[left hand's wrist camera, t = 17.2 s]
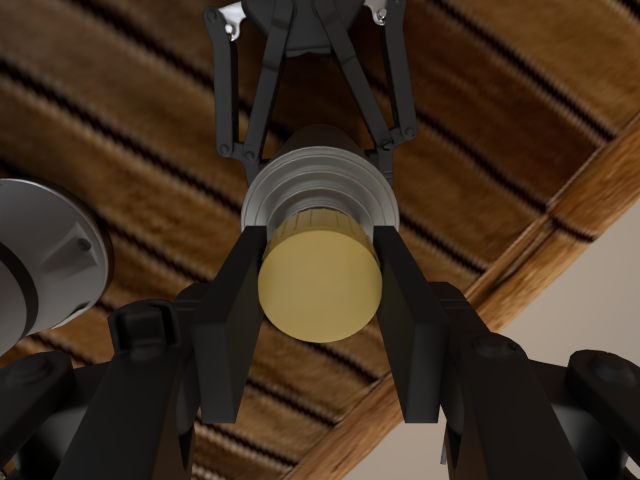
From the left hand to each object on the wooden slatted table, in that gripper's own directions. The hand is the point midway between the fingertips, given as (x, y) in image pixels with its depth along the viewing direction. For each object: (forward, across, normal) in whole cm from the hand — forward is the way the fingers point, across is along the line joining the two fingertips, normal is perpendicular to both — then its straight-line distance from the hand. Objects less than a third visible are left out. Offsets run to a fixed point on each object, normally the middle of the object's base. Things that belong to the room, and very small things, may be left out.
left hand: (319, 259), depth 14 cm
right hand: (+17, 0, -5) cm, 17 cm away
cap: (-2, 0, 0) cm, 2 cm away
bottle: (+23, 0, 0) cm, 23 cm away
